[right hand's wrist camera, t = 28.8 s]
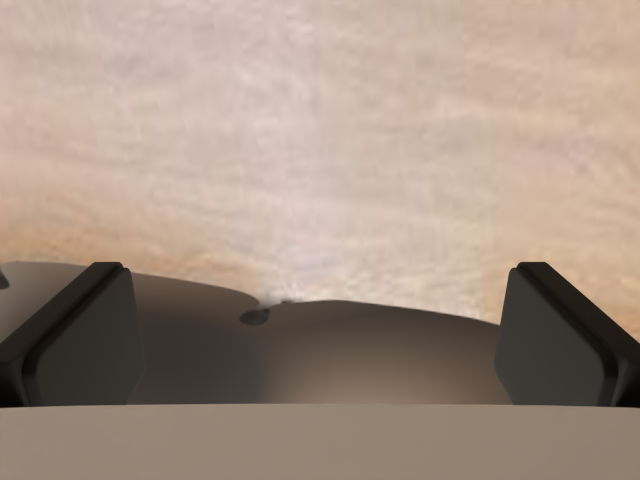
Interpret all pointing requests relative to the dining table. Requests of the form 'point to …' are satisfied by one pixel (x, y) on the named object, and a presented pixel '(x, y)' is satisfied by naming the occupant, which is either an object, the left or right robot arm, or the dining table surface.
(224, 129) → the dining table surface
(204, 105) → the dining table surface
